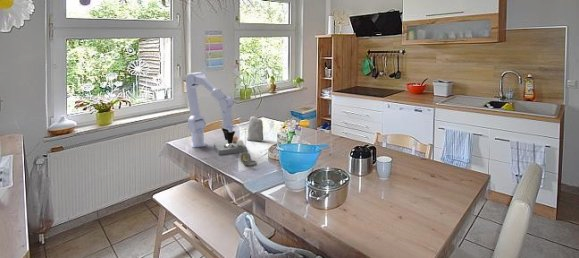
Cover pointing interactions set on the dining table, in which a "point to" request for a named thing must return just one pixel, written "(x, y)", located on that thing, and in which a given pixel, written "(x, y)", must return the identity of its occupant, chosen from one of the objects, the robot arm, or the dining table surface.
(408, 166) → the dining table surface
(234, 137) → the terracotta ball
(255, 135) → the decorative stone
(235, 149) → the hole plate
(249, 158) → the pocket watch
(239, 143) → the cream ball
